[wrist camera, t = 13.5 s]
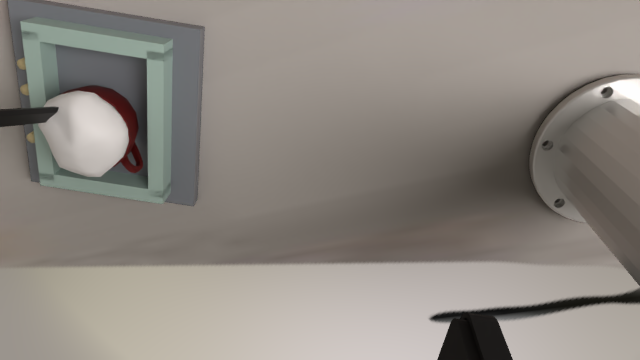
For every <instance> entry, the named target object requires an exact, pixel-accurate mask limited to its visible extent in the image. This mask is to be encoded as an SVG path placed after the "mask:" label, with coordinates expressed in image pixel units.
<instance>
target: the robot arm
mask: <svg viewBox="0 0 640 360" xmlns="http://www.w3.org/2000/svg"><path fill="white" fill-rule="evenodd" d="M603 89H604V91H602V90H603ZM601 91H602V92H601ZM545 141H546V142H545ZM543 142H545V143H544V144H543ZM529 170H530V174H531V179H532V183H533V185H534V187H535V189H536V191H537V193H538V194H539V195H540V197H541V198H542V199H543V201H544V202H545V203H546V204H547V205H548V206H549V207H550V208H551V209H552V210H553V211H555V212H556V213H558V214H560V215H561V216H563V217H565V218H568V219H570V220H573V221H576V222H581V223H588V224H589V225H590V227H591V228H592V229H593V230H594V231H595V233H596V234H597V235H598V236H599V237H600V239H601V240H602V241H603V242H604V244H605V245H606V246H607V247H608V248H609V250H610V251H611V252H612V253H613V254H614V256H615V257H616V258H617V259H618V260H619V262H620V263H621V264H622V265H623V266H624V268H625V269H626V270H627V271H628V273H629V274H630V275H631V276H632V277H633V279H634V280H635V281H636V282H637V283H638V285H639V286H640V75H639V74H628V75H617V76H612V77H607V78H603V79H600V80H598V81H595V82H592V83H590V84H587V85H586V86H584V87H582V88H580V89H578V90H577V91H575V92H573V93H572V94H570V95H569V96H568V97H567V98H565V99H564V100H563V101H561V102H560V103H559V104H558V105H557V106H556V107H555V108H554V109H553V110H552V111H551V112H550V114H549V115H548V116H547V117H546V119H545V120H544V122H543V123H542V125H541V126H540V128H539V129H538V131H537V134H536V136H535V138H534V141H533V143H532V148H531V152H530V161H529ZM438 360H513V359H512V357H511V354H510V352H509V349H508V346H507V344H506V341H505V339H504V336H503V334H502V331H501V328H500V326H499V323H498V321H497V319H496V318H495V317H493V316H487V315H480V314H474V313H467V312H466V313H464V314H463V315H462V316H461V318H460V319H456V318H454V319H453V320H452V321H451V323H450V326H449V329H448V332H447V335H446V337H445V340H444V343H443V346H442V348H441V351H440V354H439V357H438Z"/></svg>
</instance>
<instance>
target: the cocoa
mask: <svg viewBox="0 0 640 360" xmlns="http://www.w3.org/2000/svg"><path fill="white" fill-rule="evenodd" d="M37 123H38V126H39V128H40V130H41V131H42V133H43V134H44V136H45V138H46V140H47V142H48V144H49V147H50V149H51V152H52V154H53V156H54V158H55V160H56V162H57V163H58V165H59V167H60V168H63V169H66V170H68V171H71V172H74V173H77V174H80V175H83V176H87V177H101V176H102V175H103V174H104V173H106V172H107V171H108V170H109V169H110V168H112V167H115V166H116V165H117V164H119V163H120V162H121V163H122V165H123V166H124V167H125V168H126V169H127V170H128V171H129V172H131V173H137V172H139V171H140V170H141V169H142V167H143V160H142V157H141V154H140V152H139V150H138V147H137V145H136V143H135V139H136V135H137V132H138V128H139V126H138V120H137V115H136V112H135V110H134V109H133V107H132V106H131V104H130V103H129V101H128V100H127V99H126V98H125V97H124V96H122V95H121V94H119V93H118V92H116V91H115V90H113V89H111V88H106V87H102V86H97V85H90V86H84V87H80V88H76V89H72V90H68V91H66V92H64V93H62V94H60V95H58V96H56V97H54V98H52V99H50V100H48V101H47V102H46V104H45V105H44V107H35V108H17V109H0V127H4V126H15V125H26V124H37ZM130 152H132V155H133V157H134V159H135V162H136V166H134V165H133V164H132V163H131V162H130V161H129V159H128V156H127V155H128V154H129V153H130Z"/></svg>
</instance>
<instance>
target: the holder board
mask: <svg viewBox="0 0 640 360" xmlns="http://www.w3.org/2000/svg"><path fill="white" fill-rule="evenodd" d="M7 2H8V9H9V17H10V24H11V32H12V39H13V47H14V54H15V62H16V70H17V77H18V85H19V92H20V100H21V107H22V108H35V107H44V105H45V104H46V102H47V101H48V100H50V99H52V98H54V97H56V96H58V95H60V94H62V93H64V92H66V91H68V90H72V89H76V88H80V87H84V86H90V85H97V86H102V87H106V88H111V89H113V90H115V91H116V92H118V93H119V94H121V95H122V96H124V97H125V98H126V99H127V100H128V101H129V103H130V104H131V106H132V107H133V109H134V110H135V112H136V115H137V120H138V126H139V128H138V132H137V135H136V139H135V143H136V145H137V147H138V150H139V152H140V154H141V157H142V160H143V167H142V169H141V170H140V171H139V172H137V173H131V172H129V171H128V170H127V169H126V168H125V167H124V166H123V165H122V163H121V162H120V163H119V164H117V165H116V166H115V167H112V168H110V169H109V170H108V171H107V172H106V173H104V174H103V175H102V176H101V177H87V176H83V175H80V174H77V173H74V172H71V171H68V170H66V169H63V168H60V167H59V165H58V163H57V162H56V160H55V158H54V156H53V154H52V152H51V149H50V147H49V144H48V142H47V140H46V138H45V136H44V134H43V133H42V131H41V130H40V128H39V126H38V123H37V124H26V125H24V130H25V138H26V145H27V153H28V160H29V168H30V175H31V181H33V182H40V185H42V186H48V187H55V188H61V189H68V190H74V191H81V192H87V193H93V194H100V195H106V196H113V197H119V198H126V199H132V200H139V201H145V202H152V203H158V204H163V203H164V202H169V203H176V204H182V205H189V206H194V205H195V203H196V201H197V195H198V172H199V148H200V125H201V101H202V78H203V54H204V31H205V27H203V26H196V25H190V24H184V23H178V22H172V21H166V20H160V19H154V18H148V17H142V16H135V15H129V14H123V13H117V12H111V11H105V10H99V9H93V8H87V7H81V6H74V5H68V4H62V3H56V2H50V1H44V0H7ZM127 156H128V159H129V161H130V162H131V163H132V164H133V165H134V166H136V162H135V159H134V157H133V155H132V152H130V153H129V154H128V155H127Z"/></svg>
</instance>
